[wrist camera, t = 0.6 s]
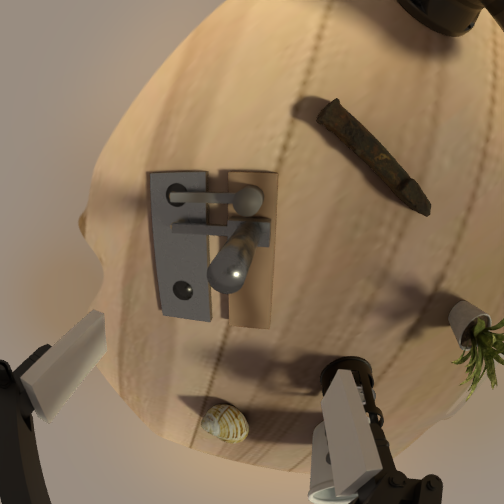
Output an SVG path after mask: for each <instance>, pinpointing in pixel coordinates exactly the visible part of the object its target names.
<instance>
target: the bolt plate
mask: <svg viewBox="0 0 504 504" xmlns="http://www.w3.org/2000/svg"><path fill="white" fill-rule="evenodd" d="M150 191H151V211H152V226H153V238H154V249H155V259H156V268H157V277H158V285H159V292H160V299H161V306H162V313H163V315H164V316H171V317H177V318H184V319H191V320H198V321H205V322H211V320H212V303H211V285H210V284H209V282H208V280H207V269H208V267H209V265H210V255H209V235H199V234H180V233H172V229H171V227H170V225H171V223H173V222H177V223H198V224H209V212H208V203H187V202H170V198H169V194H170V193H171V192H208V171H203V172H163V173H150Z"/></svg>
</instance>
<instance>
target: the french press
mask: <svg viewBox="0 0 504 504" xmlns="http://www.w3.org/2000/svg"><path fill="white" fill-rule="evenodd" d="M338 369H342V370H351V371H358V372H359V376H360V380H361V382H360V383H355V384H356V386H357V389H358V392H359V395H360V398H361V401H362V404H363V407H364V410H365V412H368V413H369V418H370V423H377V424H378V425H379V426H380V428H381V427H382V426H383V423H384V419H383V414H382V411H381V410H380V409H379V408H378V407H376V405H375V398H376V394H375V391H374V390H373V389H372V388H373V385H374V380H373V376H372V368H371V366H370V364H369V363H368V361H366V360H365V359H363V358H360V357H344V358H340V359H337V360H335V361H333V362H331V363H330V364H329V365H327V366H326V367H325V368H324V370H323V371H322V373H321V376H320V382H321V385H322V393H323V396H325V394H326V392H327V390H328V388H329V386H330V385H331V384H330V380H331V379H332V378H334V377H335V375H336V373H337V371H338ZM377 414H378V415H380V417H381V418H380V420H379V421H378V416H377ZM324 428H325V426H324ZM325 436H326V437H327V435H326V429H325ZM385 440H386V439H385ZM386 441H387V440H386ZM387 444H388V447H389V442H388V441H387ZM327 445H328V441H327ZM328 448H329V447H328ZM326 462H327V463H328V464H330V465H331V460H330V453H329V452H328V453H327V455H326ZM354 494H358V492H357V491H356V492H355V493H354Z"/></svg>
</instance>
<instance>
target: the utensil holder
mask: <svg viewBox="0 0 504 504" xmlns="http://www.w3.org/2000/svg"><path fill="white" fill-rule="evenodd" d="M367 419H368V422H369V423H370V418H369V417H367ZM324 426H325V423H324V421H323V422H321V423H320V424H318V425H317V426H316V427H315V429H314V431H313V442H312V459H311V478H310V490H309V492H308V499H309V501H311V502H313V503H316V504H347V503H350V502H351V501H352V500H354V499H355V498H356V497H358V494H352V495H351V496H341V497H336V494H335V487H334V480H333V473H332V466H331V465H330V464H328V463H327V462H326V455H327V453H328V452H329V448H328V445H327V437H326V436H325V428H324Z"/></svg>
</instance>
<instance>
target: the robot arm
mask: <svg viewBox="0 0 504 504" xmlns="http://www.w3.org/2000/svg"><path fill="white" fill-rule="evenodd" d="M397 1H398V2H399V3H400V4H401V5H402V6H403V8H404V9H405V10H406V11H407V12H409V13H410V14H411V15H412V16H413V17H414V18H416V19H417V20H418V21H419V22H421V23H422V24H424V25H425V26H427V27H429V28H430V29H432V30H434V31H436V32H438V33H441V34H444V35H447V36H452V37H458V36H462V35H464V34H465V33H467V32H469V31H470V30H471V29H472V28H473V26H474V24H475V22H476V20H477V18H478V16H479V14H480V12H481V10H482V9H483V8H486V9H487V10H488V12H489V13H490V14H491V15H492V17H493V18H494V19H495V21H496V22H497V23H498V25H499V26H500V27H501V29H502V30H503V32H504V0H397ZM106 352H107V346H106V335H105V321H104V313H101V312H99V311H96V310H94V309H93V310H92V311H91V312H90V313H89V314H87V316H85V317H84V318H83V319H82V320H81V321H80V322H78V323H77V324H76V325H75V326H74V327H73V328H72V329H71V330H69V331H68V332H67V333H66V334H65V335H64V336H63V337H62V338H61V339H60V340H59V341H57V342H56V343H55V344H54V345H53V346H50V345H49V344H47V345H44V346H41V347H39V348H38V349H37V350H36V351H35V352H34V353H33V354H32V355H30V356H29V358H27V359H26V360H25V361H24V362H23V363H22V364H21V365H20V366H19V367H18V368H17V369H16V370H15V371H14V372H12V370H11V368H10V365H9V364H8V362H6V361H4V360H0V498H1V502H2V504H51V501H50V498H49V495H48V492H47V488H46V485H45V481H44V477H43V473H42V469H41V465H40V460H39V455H38V450H37V445H36V438H35V432H34V424H33V417H32V414H31V413H32V412H33V411H34V410H35V412H36V414H37V415H38V417H39V418H40V419H42V420H43V421H45V422H47V423H48V424H50V423H51V422H52V420H53V419H54V418H55V416H56V415H57V414H58V412H59V411H60V410H61V408H62V407H63V406H64V405H65V403H66V402H67V401H68V399H69V398H70V397H71V395H72V394H73V392H74V391H75V390H76V389H77V388H78V386H79V385H80V384H81V383H82V381H83V380H84V379H85V378H86V376H87V375H88V374H89V373H90V371H91V370H92V369H93V368H94V366H95V365H96V364H97V363H98V361H99V360H100V359H101V358H102V356H103V355H104V354H105V353H106ZM321 406H322V412H323V418H324V423H325V429H326V435H327V441H328V447H329V453H330V460H331V466H332V473H333V480H334V487H335V494H336V497H341V496H351V495H352V494H354V493H355V492H356V491H357V492H358V497H356V498H355V499H354V500H352V501H351V502H350V503H349V504H441V500H442V490H443V483H442V481H441V479H440V478H439V477H438V476H436V475H433V474H430V475H427V476H425V477H424V478H423V479H422V480H418V479H409V478H407V477H406V476H405V474H403V473H402V472H400V471H397V470H396V468H395V465H394V462H393V458H392V455H391V452H390V449H389V447H388V444H387V441H386V440H385V439H386V438H385V435H384V432H383V430H382V429H381V428H380V426H379V425H378V424H377V423H369V422H368V419H367V416H366V413H365V410H364V407H363V404H362V401H361V398H360V395H359V392H358V389H357V386H356V384H355V381H354V378H353V375H352V372H351V370H342V369H338V371H337V373H336V375H335V377H334V379H333V381H332V383H331V385H330V386H329V388H328V390H327V392H326V394H325V396H324V397H323V399H322V401H321Z"/></svg>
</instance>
